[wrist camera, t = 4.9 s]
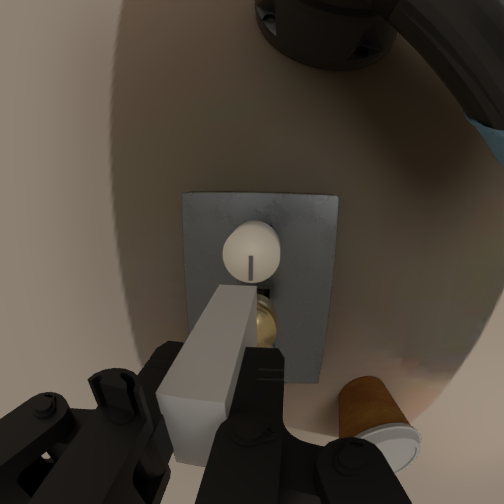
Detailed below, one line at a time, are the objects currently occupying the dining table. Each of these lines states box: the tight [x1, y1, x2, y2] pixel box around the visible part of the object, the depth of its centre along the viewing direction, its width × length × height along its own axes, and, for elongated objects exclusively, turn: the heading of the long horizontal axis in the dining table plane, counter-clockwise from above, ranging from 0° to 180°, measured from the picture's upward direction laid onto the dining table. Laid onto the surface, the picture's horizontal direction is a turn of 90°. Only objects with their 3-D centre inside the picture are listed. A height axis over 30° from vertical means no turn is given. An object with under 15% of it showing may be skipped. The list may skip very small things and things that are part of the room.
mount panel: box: [182, 191, 338, 383], centre depth 29 cm, size 20×14×3 cm
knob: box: [223, 221, 280, 283], centre depth 23 cm, size 4×4×6 cm
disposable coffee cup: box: [339, 376, 421, 475], centre depth 27 cm, size 10×10×12 cm
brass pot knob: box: [256, 293, 277, 348], centre depth 25 cm, size 4×4×6 cm
